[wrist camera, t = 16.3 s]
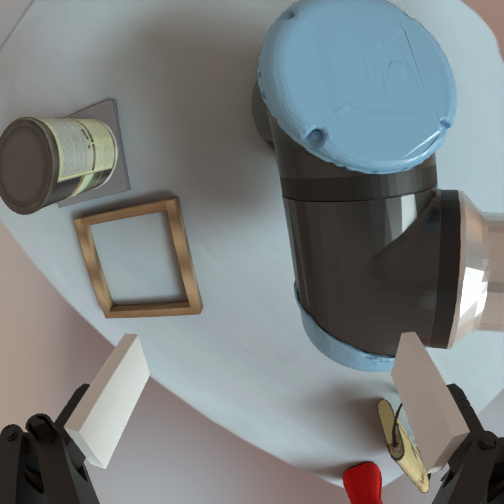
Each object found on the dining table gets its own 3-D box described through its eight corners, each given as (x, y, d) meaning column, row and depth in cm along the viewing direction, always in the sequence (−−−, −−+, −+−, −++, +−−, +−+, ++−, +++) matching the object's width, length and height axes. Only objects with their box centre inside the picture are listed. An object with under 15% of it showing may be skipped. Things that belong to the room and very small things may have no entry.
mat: (48, 127, 36) (44, 127, 35) (115, 99, 35) (112, 98, 34) (62, 206, 40) (58, 207, 40) (130, 189, 39) (127, 190, 38)
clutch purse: (432, 438, 55) (448, 483, 41) (408, 451, 57) (421, 496, 43) (403, 379, 48) (428, 440, 34) (370, 396, 50) (387, 459, 35)
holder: (81, 216, 41) (73, 220, 39) (178, 196, 39) (173, 199, 37) (110, 312, 46) (105, 318, 44) (203, 306, 44) (200, 314, 43)
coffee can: (104, 201, 39) (41, 231, 26) (54, 174, 38) (-13, 193, 25) (130, 132, 35) (65, 134, 22) (75, 109, 34) (6, 107, 21)
